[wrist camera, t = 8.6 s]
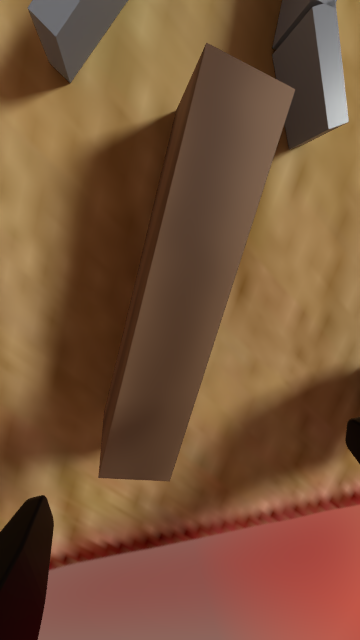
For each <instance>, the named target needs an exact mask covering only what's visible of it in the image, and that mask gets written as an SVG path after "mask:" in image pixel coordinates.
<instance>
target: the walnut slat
mask: <svg viewBox="0 0 360 640" xmlns="http://www.w3.org/2000/svg"><path fill="white" fill-rule="evenodd" d="M294 92H295V89H294V88H292V87H290V86H288V85H286V84H284V83H283V82H281V81H279V80H277V79H275V78H273V77H271V76H269V75H267V74H265V73H263V72H262V71H260V70H258V69H256V68H254V67H252V66H250V65H248V64H246V63H244V62H242V61H241V60H239V59H237V58H235V57H233V56H231V55H229V54H227V53H225V52H223V51H221V50H220V49H218V48H216V47H214V46H212V45H210V44H208V43H206V45H205V47H204V50H203V52H202V54H201V56H200V59H199V61H198V63H197V65H196V68H195V70H194V72H193V74H192V76H191V79H190V81H189V83H188V85H187V88H186V90H185V92H184V94H183V97H182V99H181V101H180V103H179V106H178V108H177V110H176V114H175V118H174V122H173V126H172V131H171V135H170V139H169V143H168V147H167V152H166V156H165V160H164V164H163V168H162V172H161V177H160V181H159V185H158V189H157V193H156V198H155V202H154V206H153V210H152V214H151V219H150V223H149V227H148V231H147V235H146V240H145V244H144V248H143V252H142V256H141V260H140V265H139V269H138V273H137V277H136V281H135V286H134V290H133V294H132V298H131V302H130V307H129V311H128V315H127V319H126V323H125V328H124V332H123V336H122V340H121V344H120V348H119V353H118V357H117V361H116V365H115V369H114V374H113V378H112V382H111V386H110V390H109V395H108V399H107V403H106V407H105V411H104V420H103V431H102V443H101V454H100V466H99V477H98V478H112V479H133V480H154V481H170V479H171V475H172V472H173V469H174V466H175V463H176V460H177V457H178V454H179V451H180V447H181V444H182V441H183V438H184V435H185V432H186V429H187V426H188V422H189V419H190V416H191V413H192V410H193V407H194V404H195V401H196V398H197V394H198V391H199V388H200V385H201V382H202V379H203V376H204V373H205V369H206V366H207V363H208V360H209V357H210V354H211V351H212V348H213V345H214V341H215V338H216V335H217V332H218V329H219V326H220V323H221V320H222V316H223V313H224V310H225V307H226V304H227V301H228V298H229V295H230V292H231V288H232V285H233V282H234V279H235V276H236V273H237V270H238V267H239V264H240V260H241V257H242V254H243V251H244V248H245V245H246V242H247V239H248V235H249V232H250V229H251V226H252V223H253V220H254V217H255V214H256V211H257V207H258V204H259V201H260V198H261V195H262V192H263V189H264V186H265V182H266V179H267V176H268V173H269V170H270V167H271V164H272V161H273V158H274V154H275V151H276V148H277V145H278V142H279V139H280V136H281V133H282V129H283V126H284V123H285V120H286V117H287V114H288V111H289V108H290V105H291V101H292V98H293V95H294Z"/></svg>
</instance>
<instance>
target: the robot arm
mask: <svg viewBox="0 0 360 640" xmlns="http://www.w3.org/2000/svg"><path fill="white" fill-rule="evenodd" d="M346 445H347V447H348V449H349V450H350V451H351V453H352V454H353V456H354V457H355V458H356V460H357V461H358V462H359V464H360V417H357V418H353V419H350V420H349V421H348V423H347V430H346ZM53 527H54V521H53V516H52V513H51V510H50V507H49V504H48V501H47V498H46V497H45V496H44V495H41V496H37V497H33V498H30V499H28V500H26V501H25V502H24V504H23V505H22V506H21V507H20V509H19V510H18V511H17V512H16V513H15V515H14V516H13V517H12V518H11V520H10V521H9V522H8V523H7V524H6V526H5V527H4V528H3V529H2V531H1V532H0V640H37V639H38V635H39V630H40V625H41V620H42V615H43V610H44V604H45V597H46V590H47V581H48V572H49V563H50V554H51V546H52V537H53Z"/></svg>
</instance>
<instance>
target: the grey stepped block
mask: <svg viewBox="0 0 360 640" xmlns="http://www.w3.org/2000/svg"><path fill="white" fill-rule="evenodd" d="M127 1H128V0H32V2H31V3H30V5H29V7H28V10H29V13H30V15H31V18H32V20H33V23H34V25H35V28H36V30H37V33H38V35H39V38H40V41H41V43H42V46H43V48H44V51H45V53H46V56H47V58H48V61H49V63H50V64H51V65H52V66H53V67H54V68H55V69H56V70H57V71H58V72H59V73H60V74H61V75H62V76H63V77H65V78H66V79H67V80H68V81H69V82H70V83H71V82H72V80H73V79H74V77H75V76H76V74H77V73H78V71H79V70H80V69H81V67H82V66H83V64H84V63H85V61H86V60H87V59H88V57H89V56H90V54H91V53H92V51H93V50H94V48H95V47H96V46H97V44H98V43H99V41H100V40H101V38H102V37H103V36H104V34H105V33H106V31H107V30H108V28H109V27H110V25H111V24H112V23H113V21H114V20H115V18H116V17H117V15H118V14H119V13H120V11H121V10H122V8H123V7H124V5H125V4H126V2H127ZM336 1H337V0H282V4H281V9H280V14H279V18H278V23H277V28H276V33H275V37H274V42H273V47H272V48H273V49H275V50H276V51H275V52H274V53H273V55H272V57H273V63H274V68H275V74H276V79H277V80H279V81H281V82H283V83H284V84H286V85H288V86H290V87H292V88H294V89H295V92H294V95H293V98H292V101H291V105H290V108H289V111H288V114H287V117H286V120H285V129H286V134H287V140H288V145H289V150H290V149H292V148H295V147H298V146H301V145H303V144H306V143H308V142H310V141H312V140H314V139H316V138H318V137H320V136H322V135H324V134H326V133H328V132H330V131H332V130H334V129H336V128H338V127H340V126H342V125H344V124H346V123H348V122H349V120H348V111H347V102H346V93H345V84H344V75H343V66H342V57H341V48H340V39H339V30H338V21H337V12H336Z"/></svg>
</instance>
